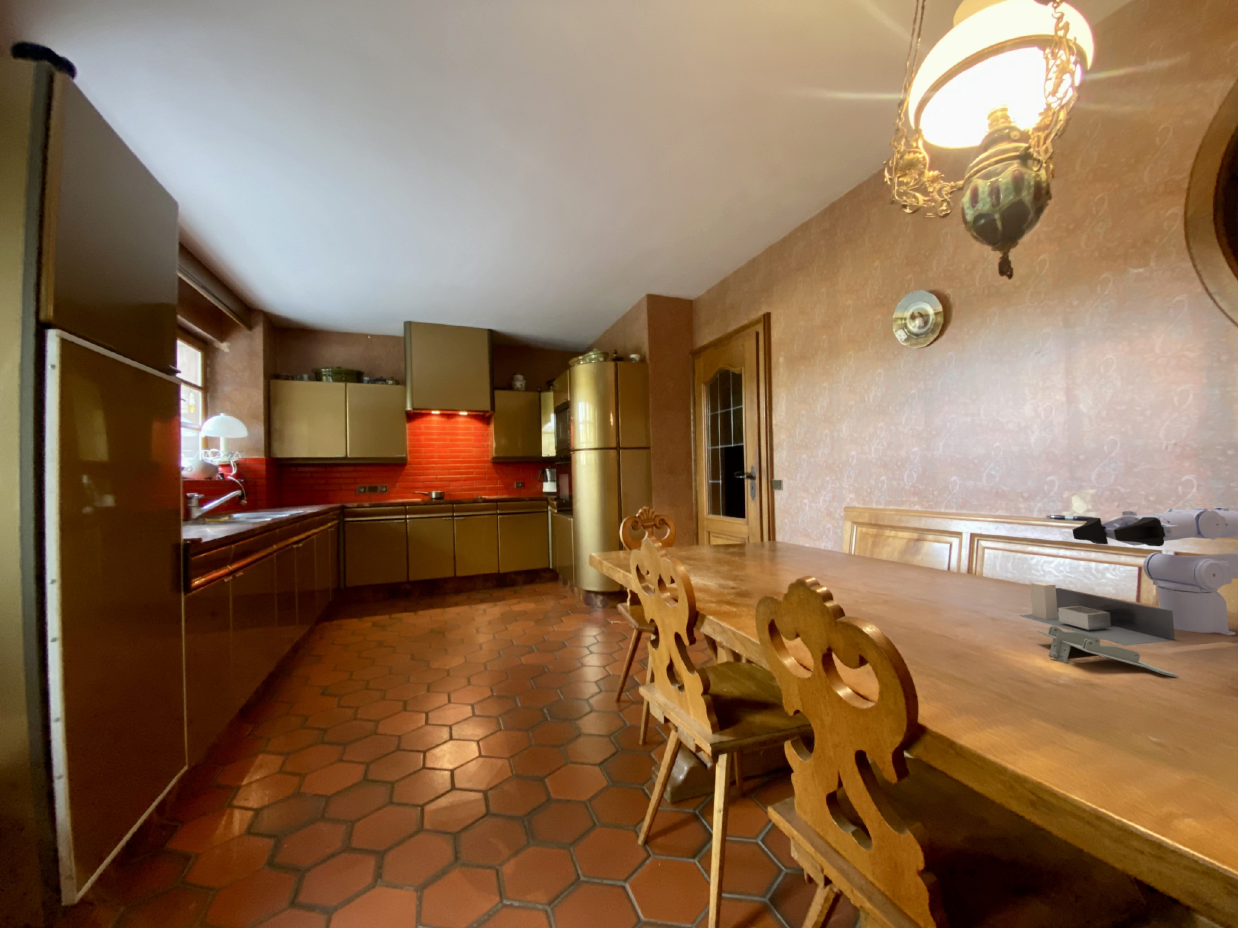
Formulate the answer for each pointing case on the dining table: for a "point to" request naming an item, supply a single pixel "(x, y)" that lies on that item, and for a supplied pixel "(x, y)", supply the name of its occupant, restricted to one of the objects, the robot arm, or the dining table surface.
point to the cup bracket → (1112, 614)
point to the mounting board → (1105, 632)
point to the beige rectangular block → (1044, 600)
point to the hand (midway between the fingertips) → (1095, 534)
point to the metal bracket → (1092, 648)
